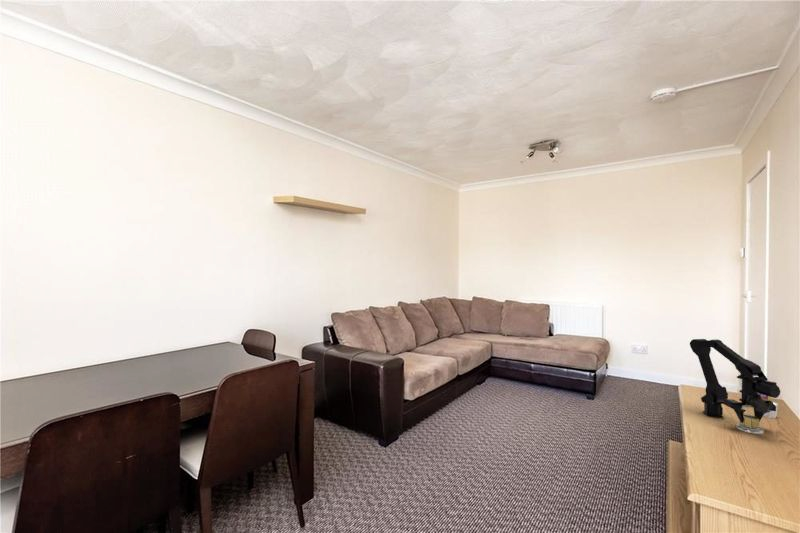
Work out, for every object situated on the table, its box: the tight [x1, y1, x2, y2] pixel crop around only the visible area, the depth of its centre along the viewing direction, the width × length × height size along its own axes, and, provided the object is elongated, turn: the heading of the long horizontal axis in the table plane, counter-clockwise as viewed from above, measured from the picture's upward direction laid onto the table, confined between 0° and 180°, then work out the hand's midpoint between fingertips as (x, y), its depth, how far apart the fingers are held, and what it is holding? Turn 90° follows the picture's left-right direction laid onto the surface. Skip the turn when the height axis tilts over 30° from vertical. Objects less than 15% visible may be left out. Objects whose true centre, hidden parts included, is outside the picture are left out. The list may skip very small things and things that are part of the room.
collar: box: [739, 413, 760, 428], centre depth 175 cm, size 6×6×4 cm
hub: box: [734, 414, 765, 435], centre depth 175 cm, size 10×10×6 cm
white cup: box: [762, 401, 779, 419], centre depth 191 cm, size 7×7×7 cm
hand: (749, 422), depth 175 cm, fingers closed on collar, 6 cm apart
